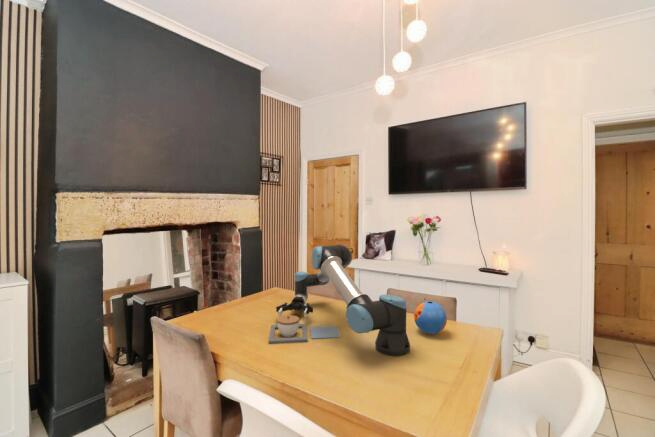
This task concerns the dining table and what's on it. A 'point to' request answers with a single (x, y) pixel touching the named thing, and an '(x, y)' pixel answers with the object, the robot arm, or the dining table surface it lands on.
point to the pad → (324, 332)
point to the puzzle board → (287, 340)
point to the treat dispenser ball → (430, 317)
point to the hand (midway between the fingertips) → (292, 314)
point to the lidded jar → (288, 325)
